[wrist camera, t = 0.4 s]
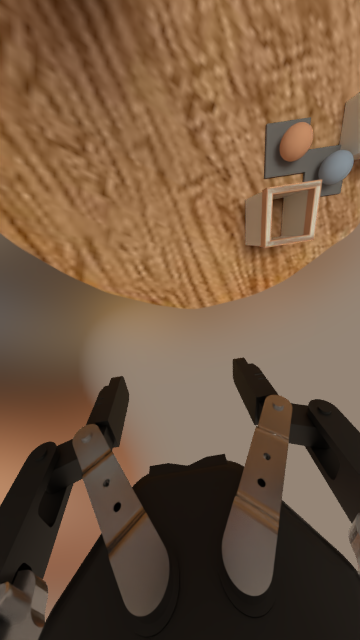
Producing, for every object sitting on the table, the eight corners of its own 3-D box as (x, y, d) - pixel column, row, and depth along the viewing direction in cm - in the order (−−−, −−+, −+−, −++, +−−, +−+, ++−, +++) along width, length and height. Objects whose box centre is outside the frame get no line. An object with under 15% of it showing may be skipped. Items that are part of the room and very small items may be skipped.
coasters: (265, 125, 30) (267, 124, 29) (352, 112, 30) (354, 110, 29) (263, 205, 34) (264, 205, 34) (338, 193, 34) (340, 193, 34)
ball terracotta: (274, 133, 30) (291, 117, 26) (301, 129, 30) (323, 112, 26) (273, 167, 32) (289, 157, 28) (298, 163, 32) (318, 152, 28)
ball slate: (314, 158, 32) (336, 146, 28) (339, 154, 32) (365, 142, 28) (310, 189, 33) (330, 182, 29) (334, 185, 33) (357, 178, 29)
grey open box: (244, 198, 33) (267, 187, 26) (287, 192, 34) (322, 179, 26) (244, 245, 37) (264, 247, 29) (284, 239, 37) (314, 239, 29)
